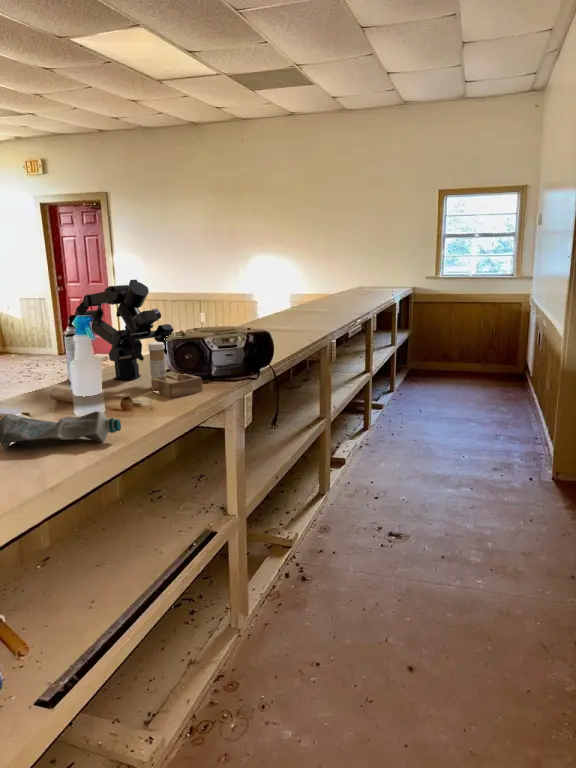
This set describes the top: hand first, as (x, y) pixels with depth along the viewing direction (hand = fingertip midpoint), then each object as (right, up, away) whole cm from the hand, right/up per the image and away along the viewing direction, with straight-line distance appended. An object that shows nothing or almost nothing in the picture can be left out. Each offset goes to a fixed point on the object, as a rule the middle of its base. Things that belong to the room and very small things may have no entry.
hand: (156, 357), depth 165 cm
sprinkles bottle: (+1, -9, +2) cm, 9 cm away
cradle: (+7, -10, -4) cm, 13 cm away
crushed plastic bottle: (-9, -21, -46) cm, 51 cm away
